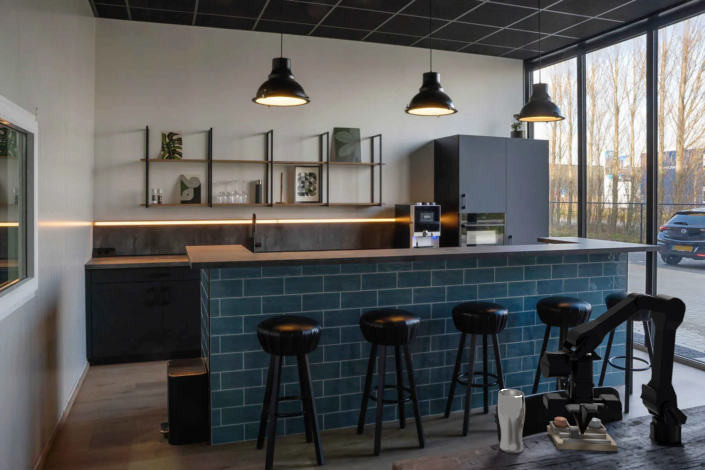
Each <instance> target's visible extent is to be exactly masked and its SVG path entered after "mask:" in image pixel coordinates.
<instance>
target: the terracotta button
mask: <svg viewBox="0 0 705 470" xmlns="http://www.w3.org/2000/svg"><path fill="white" fill-rule="evenodd" d="M554 421H555V425H556V426H558V427H566V426H567V422H568V420H567V418H565V417H563V416H556V417H554Z"/></svg>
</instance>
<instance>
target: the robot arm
mask: <svg viewBox="0 0 705 470" xmlns="http://www.w3.org/2000/svg"><path fill="white" fill-rule="evenodd" d="M686 309H687V306H686V303H685V302H684V300H682V299H681V298H679V297H675V296H671V295H667V294H662V293H659V294H656V295H654V296H653V295H647V294H643V293H638V292H630V293H628V294H627V296H626V297H624V299H622V300H620V301H619V302H618V303H616V304H615V305H613V306H612V307H610V308H609V309H608V310H606V311H604V312H603V313H602V314H600V315H599V316H598V317H596V318H595V319H593V320H591V321H587V322H584V323H581V324H578V325H576V326H574V327H573V328H570V329H569V330H568V331H567V332H566V338H565V339H564V341H563V342H562V344H560V346H559V348H558V349H557V350H558V351H546V350H545V351H543V356H542V357H541V358H540V359H541V360H540V361H539V368H540V373H541V375H542V376H543V378H544V379H557V388H558V390H559V391H564V392H565V394H566V395H567V396H568V397H562V396H561V395H560V394H559V393H557V392H556V393H554V392H553V393H551V392H546V393H544V395H543V397H542V399H543V401H542V402H543V404H544V406H545V407H546V409H547V410H549V411H561V410H563V409H564V406H565V408H566V410H567V411H568V413H570V414H571V415H573V418H574V420H575V423H576V426H578V429H579V432H580V434H584V433H585V431H586V429H587V427H588V425H589V423H590V422H591V420H592V419H593V418H595V416H596V415H599V414H600V412H599V410H598V407H606V409H607V410H608V411H609V412H611V413H613V412H614V413H621V412H623V403H622V401H621V400H620V399H619V398H617V396H616V395H614V394H599V397H598V398H595V397H594V388H595V382H594V361H601V360H602V357H601V356H600V355H598V353H597V352H596V350H597V349H598V347H600V345H602V343H603V342H604V339H605V338H606V336H607V335H608V334H610V333H611V332H612V331H613V330H616V329H617V328H618V327H619V326H620V325H622V324H623V323H626V321H628V320H629V319H630V318H632V317H634V316H635V315H636V314H637V313H639V312H641V311H642V310H647V311H650V317H651V320H652V323H653V324H654V328H655V329H654V338H653V339H654V340H653V351H652V363H651V377H650V379H649V381H648V383H647V384H646V383H642V384H641V387H640V388H641V393H640V394H641V395H640V396H639V399H641V401H642V404H643V406H644V407H645V408H646V409H647V412H648V414H649V415H652V416H651V421H650V422H649V434H648V435H649V436H648V437H650V438H651V439H652V440H653V441H654V442H655V443H656V444H657V445H658V446H661V447H663V446H667V447H685V445H686V444H685V443H684V442H683V441H682V426H683V425H686V424H687V420H688V416H687V415H686V414H685V413H684V412H683V411H682V410H681V409H680V408H679V407H678V397H677V393H676V391H675V390H676V389H675V388H674V386H673V373H674V363H675V362H674V360H675V349H676V335H677V330H678V328H680V326H681V325H682V323H683V322H684V318H685V315H686V311H687V310H686ZM573 349H574V350H573ZM568 377H569V378H568ZM567 378H568V381H567ZM580 407H581V408H580Z"/></svg>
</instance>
